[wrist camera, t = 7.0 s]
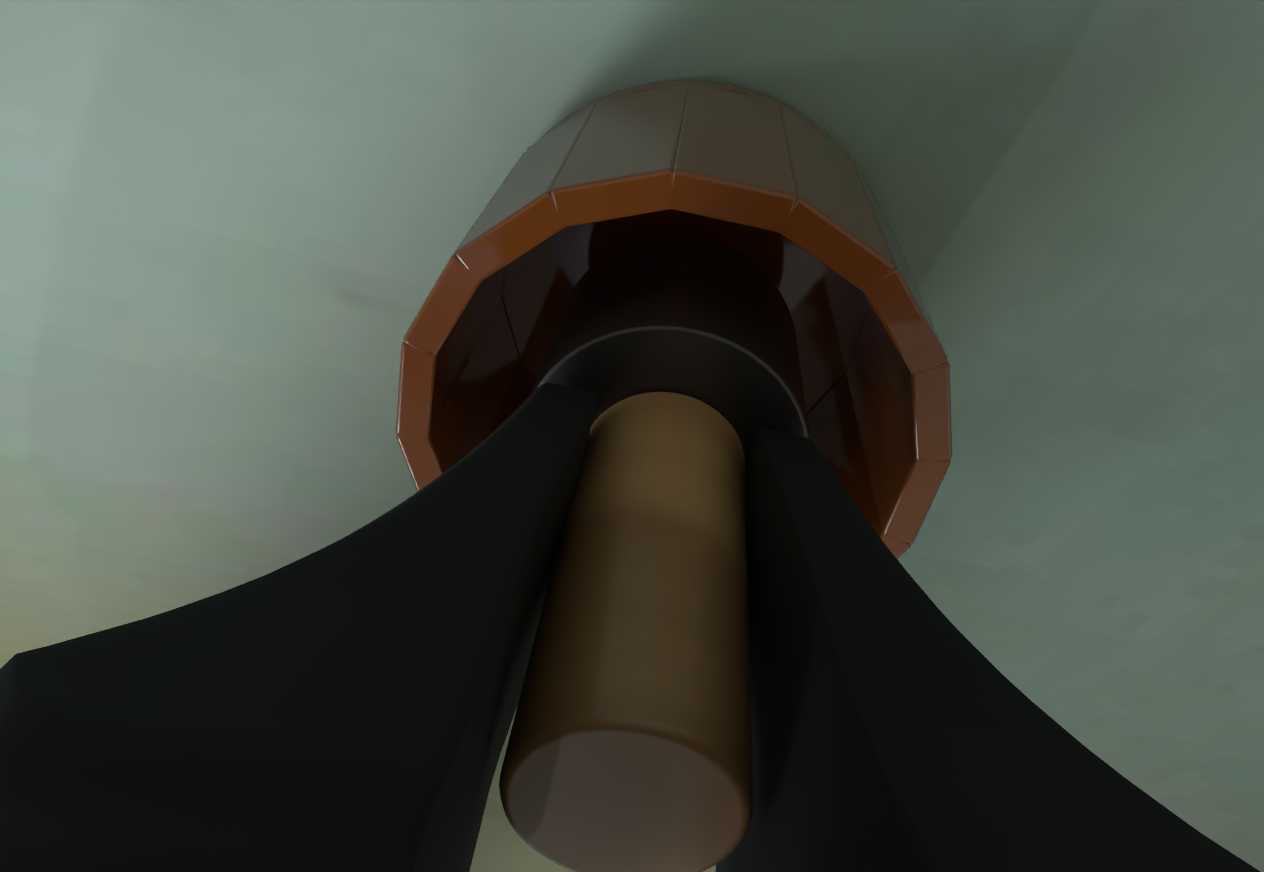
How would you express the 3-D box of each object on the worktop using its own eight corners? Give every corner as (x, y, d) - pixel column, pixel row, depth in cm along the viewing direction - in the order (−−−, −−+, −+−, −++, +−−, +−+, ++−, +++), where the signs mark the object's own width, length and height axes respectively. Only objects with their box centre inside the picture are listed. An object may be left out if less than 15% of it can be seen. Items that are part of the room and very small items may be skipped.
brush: (760, 471, 15) (784, 975, 8) (541, 424, 15) (384, 894, 8) (827, 265, 13) (932, 703, 6) (577, 210, 13) (409, 594, 6)
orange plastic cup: (819, 492, 18) (847, 689, 14) (467, 416, 18) (383, 593, 13) (954, 134, 14) (1049, 251, 10) (511, 34, 14) (415, 112, 10)
